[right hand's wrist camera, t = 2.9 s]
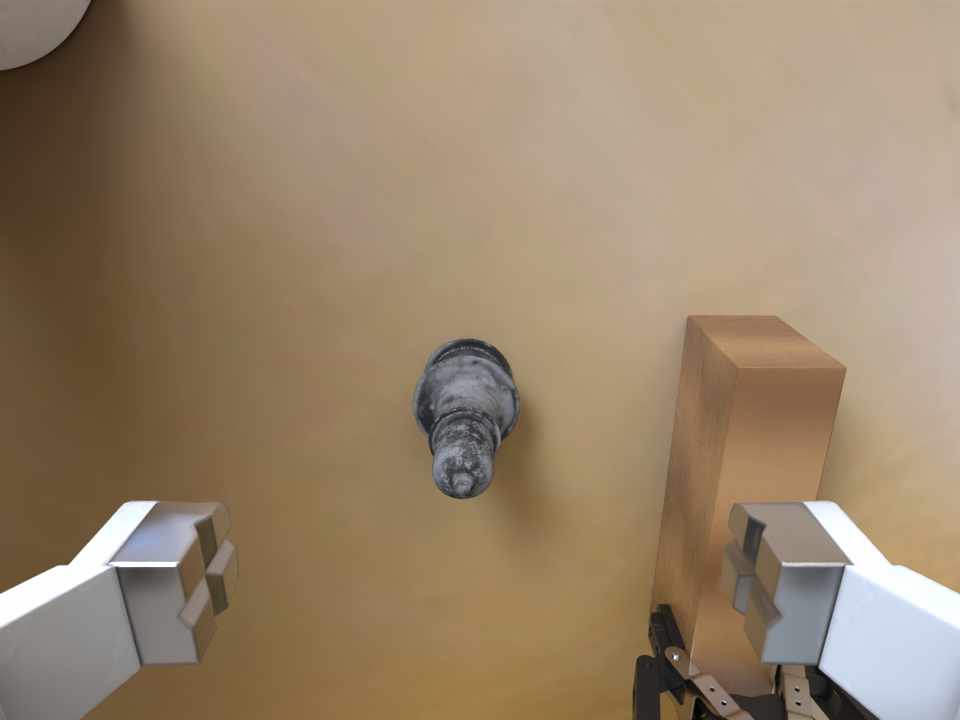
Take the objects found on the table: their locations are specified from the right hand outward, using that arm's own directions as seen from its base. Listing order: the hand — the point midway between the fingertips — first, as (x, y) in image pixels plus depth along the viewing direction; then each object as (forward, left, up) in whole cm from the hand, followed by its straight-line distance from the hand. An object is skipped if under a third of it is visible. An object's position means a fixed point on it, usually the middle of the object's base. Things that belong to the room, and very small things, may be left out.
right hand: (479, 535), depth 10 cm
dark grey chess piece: (+9, -1, -27) cm, 28 cm away
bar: (+16, +15, -27) cm, 35 cm away
